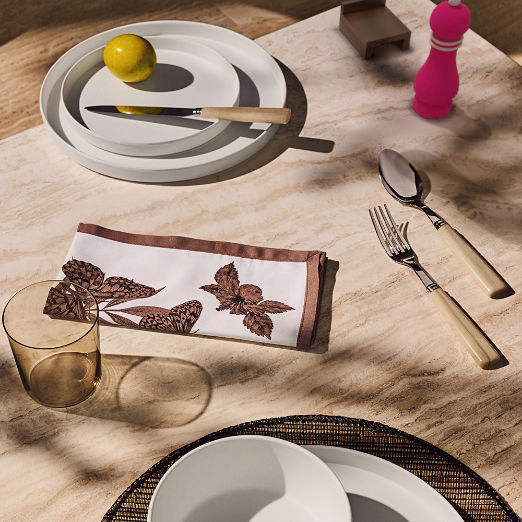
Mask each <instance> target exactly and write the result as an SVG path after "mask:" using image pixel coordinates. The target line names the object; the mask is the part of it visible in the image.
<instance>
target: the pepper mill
mask: <svg viewBox="0 0 522 522" xmlns="http://www.w3.org/2000/svg"><path fill="white" fill-rule="evenodd" d="M461 1H462V0H444V1H442V2H439V3H438V4H437V5H436V6H435V7H434V8H433V9H432V11H431V13H430V16H429V21H428V23H429V27H430V30H431V31H430V33H429V38H428V43H429V45H430V50H429V54H428V56H427V59H426V60H425V62H424V63H423V65H422V66H421V67H420V69H418V71H417V73H416V75H415V77H414V81H413V90H414V93H415V94H414V96H413V102H412V108H413V110H414V112H415V113H416V114H418V115H419V116H421V117H422V118H423V117H424V118H426V119H432V120H434V119H435V120H437V119H442V118H445V117H446V116H448V115H449V114H450V113H451V110H452V106H453V99H455V97H456V96H457V95H458V94H459V90H460V85H461V84H460V75H459V70H458V65H457V56H458V55H457V54H458V51H459V50H460V48H461V47H462V46H463V41H464V38H465V37H464V35H465V34H466V33H467V32H468V31H469V29H470V26H471V23H472V14H471V11H470V9H469V8H468V6H467V5H466V4H464V3H463V2H461ZM458 49H459V50H458Z"/></svg>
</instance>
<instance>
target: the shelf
mask: <svg viewBox="0 0 522 522" xmlns="http://www.w3.org/2000/svg"><path fill="white" fill-rule="evenodd" d="M386 5H387V0H344V1H341V2H340V10H339V12H340V13H339V23H338V30H339V31H340V32H341V33H342V35H343V36H344V37H345V38H346V39H347V40H348V42H349V43H350V44H351V45H352V46H353V47H354V49H355V50H356V51H357V52H358V53H359V54H360V56H361V57H363V59H364V60H367V59H372V57H373V52H374V47H376V46H380V45H384V44H389V43H393V42H394V44H396V46H397V47H398V48H399V49H400V50H401V51H405V50H409V48H410V45H411V37H412V30H411V29H410V28H408V26H407V25H406V24H405V23H404V22H403V21H402V20H400V18H399V17H398V16H397V15H396V14H395V13H394V12H393V11H392V10H391V9H390V8H389V7H388V6H386Z"/></svg>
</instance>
